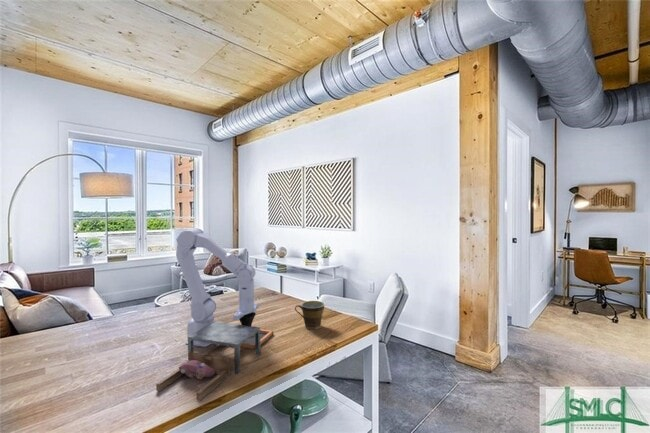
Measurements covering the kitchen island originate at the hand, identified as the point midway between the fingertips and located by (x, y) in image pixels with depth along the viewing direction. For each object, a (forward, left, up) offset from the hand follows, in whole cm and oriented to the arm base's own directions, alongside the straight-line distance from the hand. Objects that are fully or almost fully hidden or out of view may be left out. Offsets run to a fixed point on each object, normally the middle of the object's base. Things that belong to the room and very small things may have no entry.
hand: (246, 332), depth 118 cm
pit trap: (0, +2, -4) cm, 5 cm away
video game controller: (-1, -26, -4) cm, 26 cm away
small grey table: (0, -14, -4) cm, 14 cm away
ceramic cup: (+18, +21, -4) cm, 28 cm away
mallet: (0, -18, -4) cm, 19 cm away
